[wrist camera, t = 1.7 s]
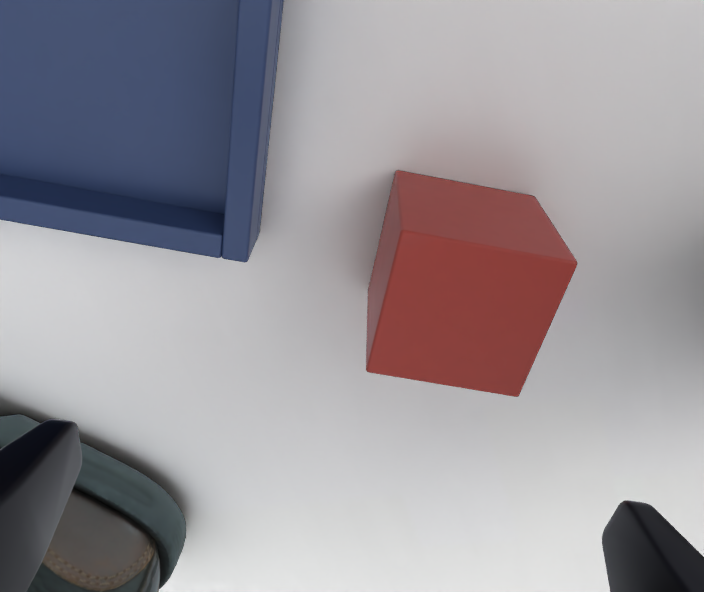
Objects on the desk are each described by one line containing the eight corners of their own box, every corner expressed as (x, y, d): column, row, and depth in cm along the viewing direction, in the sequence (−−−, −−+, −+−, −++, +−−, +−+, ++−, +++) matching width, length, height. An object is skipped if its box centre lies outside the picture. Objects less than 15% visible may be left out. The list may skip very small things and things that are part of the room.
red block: (535, 195, 18) (579, 263, 14) (491, 312, 20) (518, 398, 16) (395, 169, 17) (400, 230, 14) (367, 291, 20) (365, 373, 16)
